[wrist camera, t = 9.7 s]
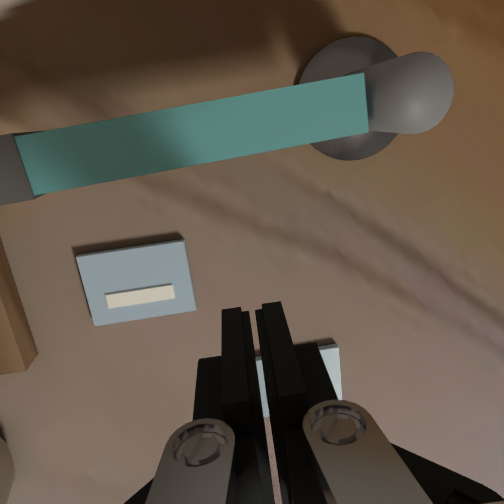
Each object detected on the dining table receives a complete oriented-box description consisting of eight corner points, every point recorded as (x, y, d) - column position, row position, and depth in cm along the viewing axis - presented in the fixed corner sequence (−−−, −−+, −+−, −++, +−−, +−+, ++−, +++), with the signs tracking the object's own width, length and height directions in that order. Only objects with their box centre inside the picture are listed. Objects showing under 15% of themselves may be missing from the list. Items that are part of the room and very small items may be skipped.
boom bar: (380, 66, 18) (452, 45, 13) (384, 124, 19) (454, 126, 14) (34, 129, 18) (-43, 135, 12) (52, 186, 18) (-13, 215, 13)
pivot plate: (407, 30, 18) (409, 29, 18) (408, 152, 20) (410, 152, 20) (289, 45, 18) (290, 44, 18) (300, 167, 20) (301, 167, 20)
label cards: (327, 217, 21) (330, 220, 20) (340, 399, 24) (343, 404, 23) (78, 254, 20) (75, 257, 19) (127, 435, 23) (125, 442, 23)
